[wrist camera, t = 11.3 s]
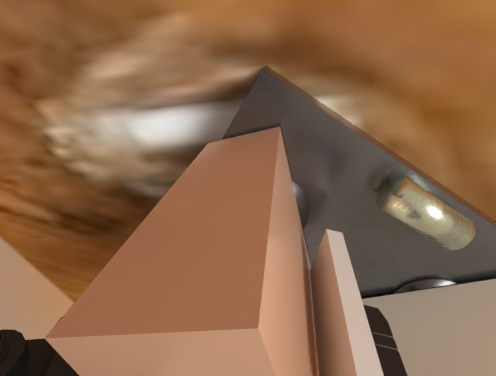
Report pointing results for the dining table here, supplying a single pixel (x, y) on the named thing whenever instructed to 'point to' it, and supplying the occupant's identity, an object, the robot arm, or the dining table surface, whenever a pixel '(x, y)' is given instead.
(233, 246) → the salmon pink block
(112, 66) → the dining table surface
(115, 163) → the dining table surface
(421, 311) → the cream block with tab
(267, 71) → the levelling base
